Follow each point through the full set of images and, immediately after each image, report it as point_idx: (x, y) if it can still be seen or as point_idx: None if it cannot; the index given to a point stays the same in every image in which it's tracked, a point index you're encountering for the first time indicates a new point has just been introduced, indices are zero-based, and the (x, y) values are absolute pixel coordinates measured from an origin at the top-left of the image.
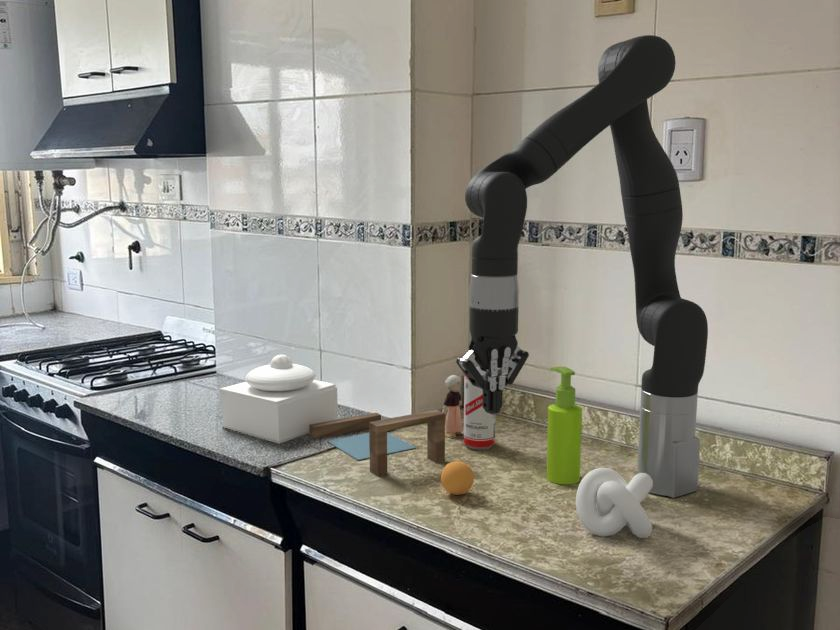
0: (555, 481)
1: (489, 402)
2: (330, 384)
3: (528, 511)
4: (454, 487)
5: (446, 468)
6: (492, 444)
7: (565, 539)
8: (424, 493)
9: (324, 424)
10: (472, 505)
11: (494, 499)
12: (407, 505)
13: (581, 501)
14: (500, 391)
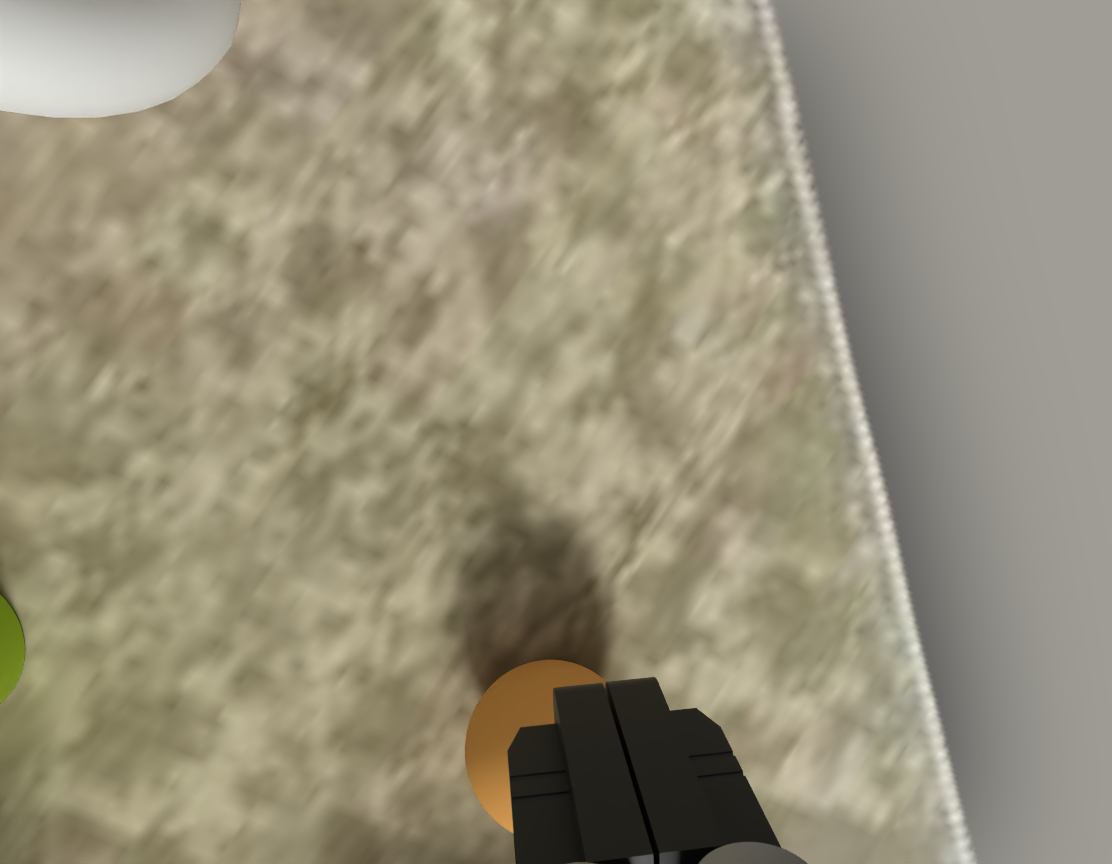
0: (5, 609)
1: (716, 771)
2: None
3: (351, 376)
4: (602, 679)
5: None
6: None
7: (378, 2)
8: None
9: None
10: (555, 558)
11: (421, 572)
12: (804, 682)
13: (191, 9)
14: (587, 850)
